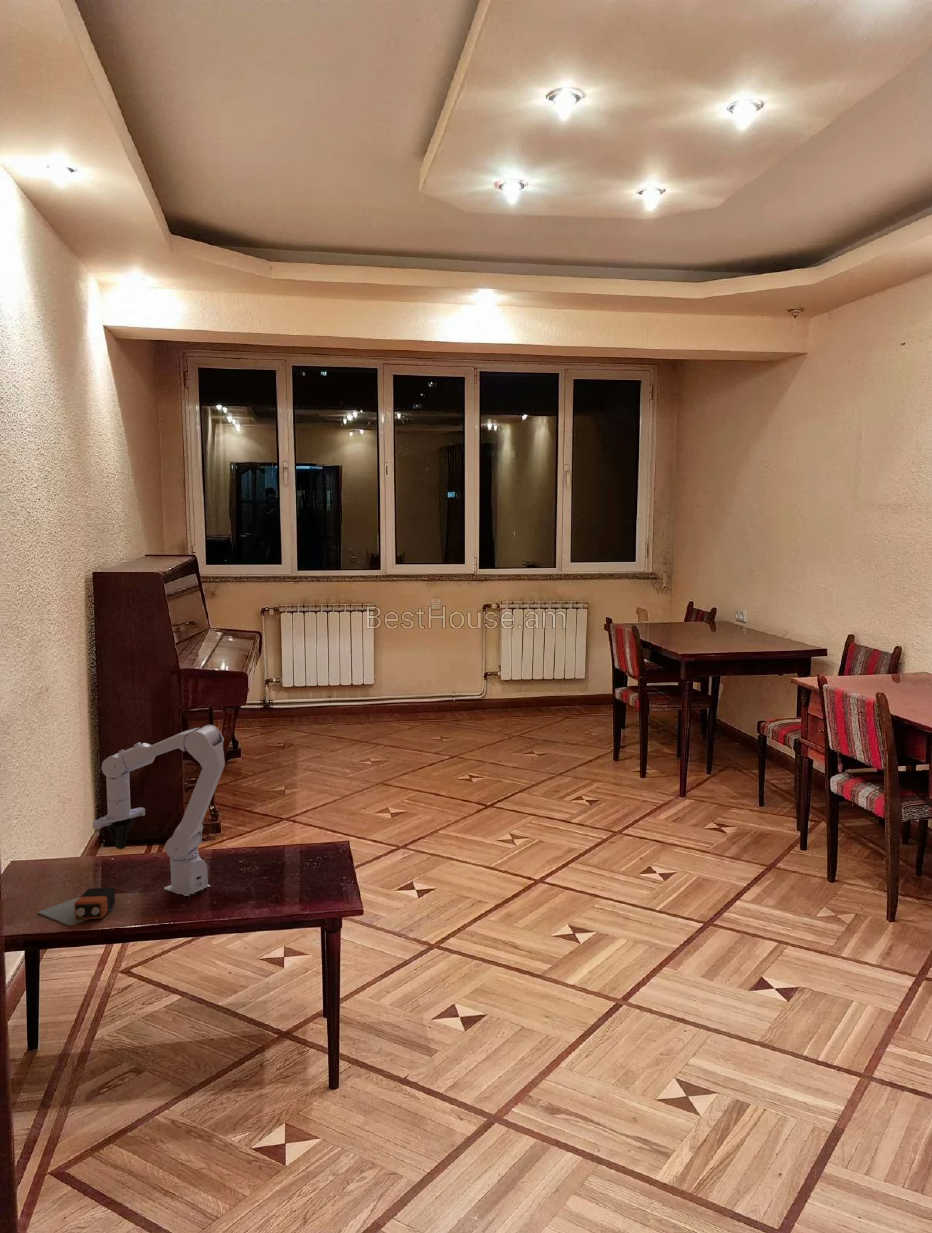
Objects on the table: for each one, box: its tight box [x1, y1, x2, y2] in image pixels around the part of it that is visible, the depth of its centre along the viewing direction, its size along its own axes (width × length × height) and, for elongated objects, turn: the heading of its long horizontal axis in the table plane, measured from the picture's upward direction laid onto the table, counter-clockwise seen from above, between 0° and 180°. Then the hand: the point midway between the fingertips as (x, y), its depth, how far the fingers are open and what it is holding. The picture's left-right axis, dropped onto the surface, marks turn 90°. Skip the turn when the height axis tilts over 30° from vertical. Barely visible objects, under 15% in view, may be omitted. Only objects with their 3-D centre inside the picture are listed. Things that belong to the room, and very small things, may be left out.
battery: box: [74, 887, 116, 920], centre depth 214 cm, size 4×7×10 cm
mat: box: [37, 896, 112, 927], centre depth 216 cm, size 14×11×1 cm
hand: (120, 848), depth 232 cm, fingers closed
